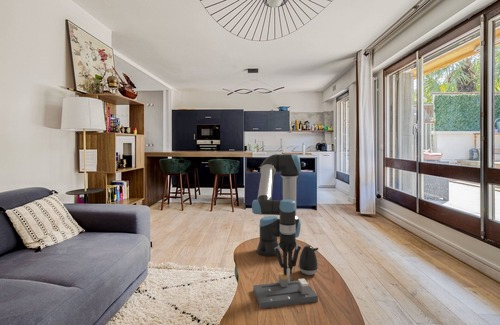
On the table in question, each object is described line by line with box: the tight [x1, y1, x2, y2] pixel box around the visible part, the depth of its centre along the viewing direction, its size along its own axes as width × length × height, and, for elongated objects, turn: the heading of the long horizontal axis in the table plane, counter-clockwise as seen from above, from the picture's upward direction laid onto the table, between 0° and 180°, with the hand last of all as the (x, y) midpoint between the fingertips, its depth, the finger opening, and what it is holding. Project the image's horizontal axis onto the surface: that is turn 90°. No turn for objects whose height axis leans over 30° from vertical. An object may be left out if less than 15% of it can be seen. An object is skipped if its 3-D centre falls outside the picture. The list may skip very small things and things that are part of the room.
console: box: [252, 280, 319, 309], centre depth 122 cm, size 15×26×3 cm, turn 101°
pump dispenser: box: [298, 244, 319, 276], centre depth 144 cm, size 10×10×15 cm
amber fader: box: [278, 271, 288, 287], centre depth 127 cm, size 5×3×5 cm, turn 11°
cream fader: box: [297, 278, 310, 294], centre depth 120 cm, size 5×3×5 cm, turn 11°
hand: (287, 280), depth 127 cm, fingers closed
